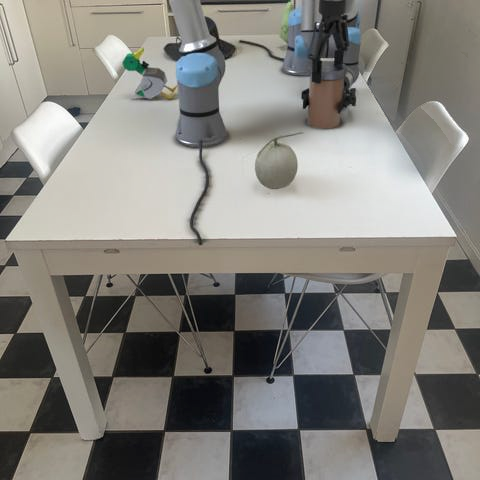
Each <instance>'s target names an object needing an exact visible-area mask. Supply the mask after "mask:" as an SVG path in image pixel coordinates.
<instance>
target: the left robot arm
mask: <svg viewBox="0 0 480 480" xmlns="http://www.w3.org/2000/svg"><path fill="white" fill-rule="evenodd" d="M168 2H169V6H170V9H171V13H172V16H173V19H174V22H175V25H176V29H177V32H178V34H179V38H180V39H181V41H182V45H181V47H180V49H179V52H180V55H181V58H180V59H179V60H177V62H176V64H175V78H176V85H177V96H178V97H177V98H178V106H179V116H178V121H177V125H176V130H175V140H176V142H177V143H178V144H180V145H182V146H184V147H188V148H197V149H199V152H198V155H199V156H198V157H199V159H198V160H199V162H200V165H201V166H202V168H203V170H204V173H205V185H204V188H203V190H202V193H201V195H200V196H199V197H198V200H197V201H196V203H195V206H194V208H193V210H192V212H191V215H190V219H189V227H190V228H189V229H190V230H191V231H192V232H193V233H194V235H195V236H196V238H197V243H198V246H202V245H203V240H202V237H201V234H200V232H199V231H198V230H197V228H195V227H194V220H195V216H196V213H197V212H198V209H199V208H200V204H201V203H202V200H203V199H204V198H205V196H206V194H207V191H208V187H209V183H210V175H209V170H208V168H207V166H206V164H205V162H204V158H203V148H211V147H214V146H217V145H219V144H222V143H223V142H224V141H225V140H226V139H227V130H226V129H227V128H226V126H225V123H224V120H223V117H222V115H221V112H220V95H219V94H220V93H219V92H220V91H219V90H220V89H219V87H220V85H221V82H222V81H223V78H224V76H225V72H226V58H224V56H223V54H222V52H221V51H220V50H219V48H218V44H217V41H216V38H215V37H213V36H211V35H210V34H209V31H208V27H207V24H206V20H205V17H204V16H205V14H204V10H203V6H202V3H201V0H168ZM345 12H346V0H319V13H320V14H321V15H322V19H321V22H315V23H314V32H313V37H312V41H311V45H310V50H309V54H308V59H311V60H312V82H315V83H321V71H322V61H323V60H322V58H321V57H322V54H323V51H324V49H325V46H326V43H327V40H328V39H329V38H330V37H331V35H333V38H334V41H335V44H336V48H337V49H338V50H335V55H334V58H333V61H335V62H340V63H343V56H344V51H347V50H348V48H347V47H348V46H349V38H348V27H347V19H348V15H344V13H345ZM323 32H324V33H323ZM344 41H345V42H344Z"/></svg>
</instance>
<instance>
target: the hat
mask: <svg viewBox="0 0 480 480" xmlns="http://www.w3.org/2000/svg"><path fill="white" fill-rule="evenodd" d="M204 17H205V20H206V24H207V27H208V31H209V34H210V35H211V36H213V37H215V38H216V41H217V44H218V48H219V50H220V51H221V52H222V54H223V56H224V59H226V58H228V57H230V56H231V55H232V53H233V51H234V50H235V49H236V45H234V44H232V43H230V42H228V41H226V40H223V39H221V38H220V34H219V30H218V27H217V26H218V25H217V23H216V22H215V21H214V20H213V19H212V18H210V17H208V16H205V15H204ZM178 40H179V41H180V42H178ZM181 45H182V41H181V38H180V36H176V39H175V42H168V43H167V44H165V46H164V47H163V51H164V53H165V54H166V56H168V57H169V58H172V59H174V60H177V61H178V60H179V59H180V58H181V55H180V52H179V49H180V47H181Z"/></svg>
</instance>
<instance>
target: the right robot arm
mask: <svg viewBox="0 0 480 480" xmlns="http://www.w3.org/2000/svg"><path fill="white" fill-rule="evenodd" d="M344 15H348V19H347V27H348V38H349V46H348V47H347V48H348V50H347V51H344V56H343V64H345V65H346V75H345V77H344V86H343V96H342V100H341V102H340V103H339V105H338V113H339V114H340V113H341V114H342V111H344V109H348V107H349V106H352V107H356V104H357V94H356V91H357V88H356V87H353V85H354V84H355V83H356V82H357V80H358V79H359V76H360V71H361V70H360V67H359V59H360V52H361V45H362V31H361V29H360V24H361V13H360V11H359V10H358V6H357V5H356V0H346V12H345V13H344ZM321 19H322V15H321V14H320V13H319V0H301V7H297V8H294V10H293V11H291V12H290V14H289V20H288V44H287V48H286V49H287V50H286V54H285V55H284V57H280V56H277V55H275V54H272V53H271V50H270V49H269V48H268V47H267V46H265V45H263V44H260V43H256V42H252V41H248V40H244V39H239V43H244V44H249V45H253V46H256V47H260V48H263V49H265V50H266V51H267V54H268V56H269V57H271V58H273V59H275V60H278V61H283V62H282V68H281V71H282V72H283V73H285V74H287V75H290V76H298V77H299V76H300V77H301V76H310V75H309V66H310V64H312V60H311V59H308V54H309V50H310V45H311V41H312V37H313V32H314V23H315V22H321ZM323 33H324V32H323ZM344 42H345V41H344ZM335 50H338V49H337V48H336V44H335V41H334V38H333V35H331V37H330V38H329V39H328V40H327V43H326V46H325V49H324V51H323V54H322V57H321V59H334V55H335ZM300 94H301V95H300V99H301V100H302V109H303V110H306V108H308V101H309V87H308V88H306V89H303V90H302V91H301V93H300Z"/></svg>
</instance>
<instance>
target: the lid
mask: <svg viewBox="0 0 480 480" xmlns="http://www.w3.org/2000/svg"><path fill="white" fill-rule="evenodd" d="M345 75H346V65H345V64H343V63H340V62H335V61H334V60H322V71H321V80H336V79H341V78H343V77H345ZM308 76H309V77H310V76H311V77H312V64H310V66H309V75H308Z"/></svg>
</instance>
